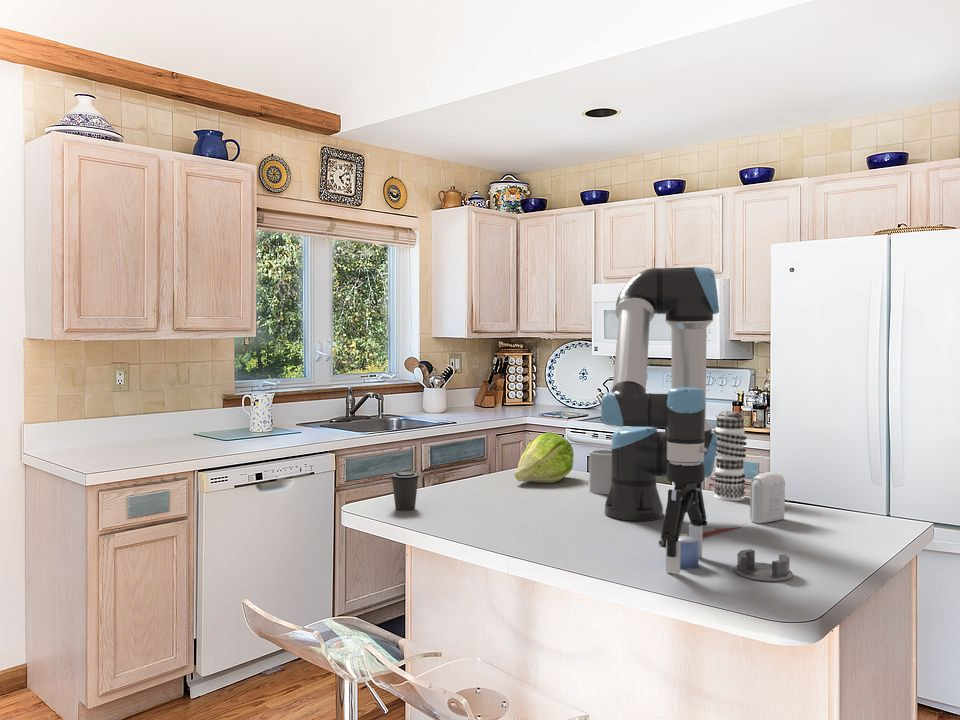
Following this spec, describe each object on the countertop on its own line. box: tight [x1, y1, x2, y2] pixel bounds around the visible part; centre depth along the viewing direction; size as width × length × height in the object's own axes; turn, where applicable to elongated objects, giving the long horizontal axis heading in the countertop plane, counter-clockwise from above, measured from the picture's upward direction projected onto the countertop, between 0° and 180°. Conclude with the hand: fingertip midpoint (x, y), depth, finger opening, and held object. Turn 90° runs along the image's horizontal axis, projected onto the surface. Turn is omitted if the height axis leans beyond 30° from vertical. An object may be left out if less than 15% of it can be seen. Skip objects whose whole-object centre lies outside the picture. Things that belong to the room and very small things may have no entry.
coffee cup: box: [390, 470, 421, 512], centre depth 210 cm, size 8×8×10 cm
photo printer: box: [749, 471, 786, 524], centre depth 196 cm, size 10×4×12 cm, turn 123°
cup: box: [588, 449, 612, 495], centre depth 232 cm, size 9×9×12 cm
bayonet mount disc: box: [733, 548, 794, 583], centre depth 154 cm, size 11×11×4 cm
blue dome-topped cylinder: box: [678, 536, 700, 570], centre depth 159 cm, size 6×6×5 cm
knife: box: [658, 526, 741, 546], centre depth 183 cm, size 29×2×5 cm
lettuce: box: [514, 431, 575, 484], centre depth 249 cm, size 15×25×16 cm
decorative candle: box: [713, 410, 748, 502], centre depth 223 cm, size 9×9×25 cm
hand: (684, 564), depth 159 cm, fingers open, 13 cm apart
